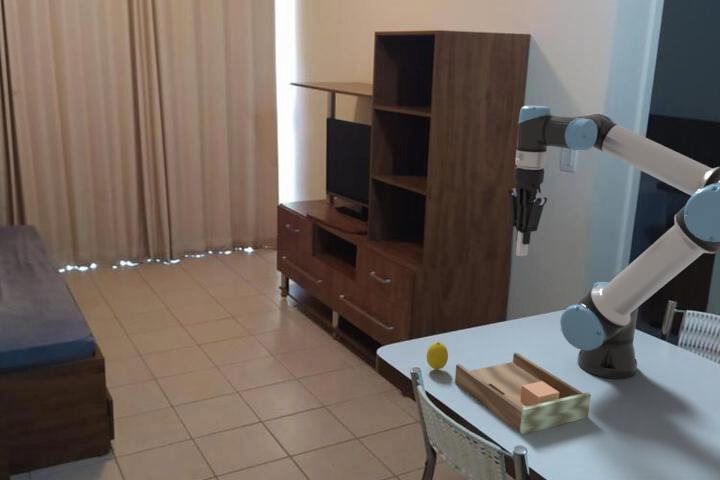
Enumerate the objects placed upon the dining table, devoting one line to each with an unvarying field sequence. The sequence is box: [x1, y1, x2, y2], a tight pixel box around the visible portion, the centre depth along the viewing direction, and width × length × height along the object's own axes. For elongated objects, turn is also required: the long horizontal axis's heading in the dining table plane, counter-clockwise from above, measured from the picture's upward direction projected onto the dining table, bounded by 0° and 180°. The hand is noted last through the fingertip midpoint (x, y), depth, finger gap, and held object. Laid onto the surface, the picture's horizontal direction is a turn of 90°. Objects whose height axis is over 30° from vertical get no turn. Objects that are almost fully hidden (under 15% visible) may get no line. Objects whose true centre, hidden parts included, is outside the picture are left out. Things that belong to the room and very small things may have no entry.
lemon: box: [426, 341, 449, 371], centre depth 185 cm, size 6×6×8 cm
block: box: [520, 381, 559, 406], centre depth 164 cm, size 6×6×4 cm
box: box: [454, 352, 592, 435], centre depth 171 cm, size 19×27×6 cm
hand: (521, 254), depth 188 cm, fingers closed
